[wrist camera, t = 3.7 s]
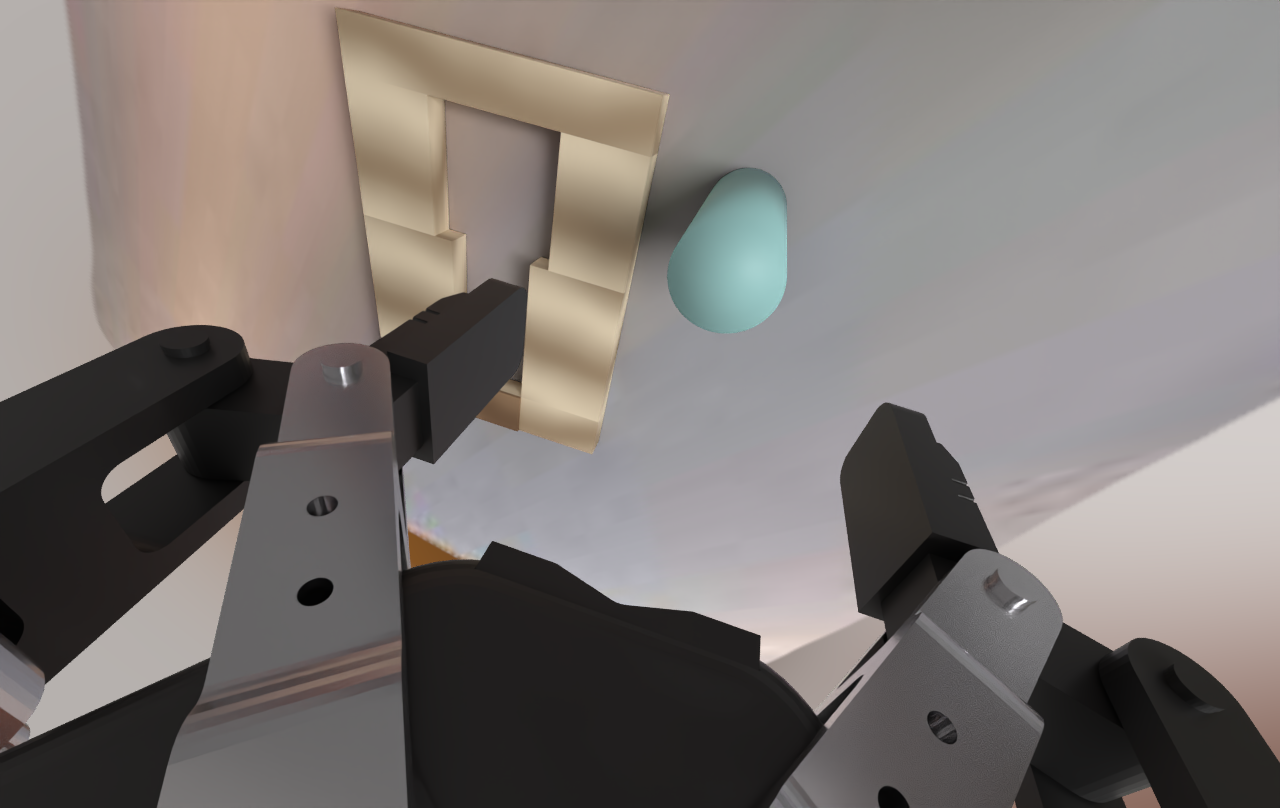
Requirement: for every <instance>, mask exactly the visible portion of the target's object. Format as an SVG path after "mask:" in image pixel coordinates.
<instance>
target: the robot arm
mask: <svg viewBox="0 0 1280 808" xmlns="http://www.w3.org/2000/svg"><path fill="white" fill-rule="evenodd" d="M526 308H527V293H526V290H525V289H524V288H522V287H519V286H515V285H512V284H509V283H506V282H503V281H499V280H496V279H493V278H491V279H488V280H487V281H486V282H484V283H483V284H481V285H480V286H478V287H477V288H476V289H474V290H473V291H471V292H470V293H465V292H462V293H458V294H455V295H451V296H448V297H444V298H441V299H439V300H438V301H436V302H435V303H433V304H432V305H430V306H429V307H427V308H426V311H421V312H420V313H418V314H417V315H415V316H414V317H413V319H412V320H411V319H409V320H408V321H406V322H405V323H403V324H402V325H400V326H399V327H397V328H396V329H394V330H393V331H391V332H390V333H388V334H387V335H385V336H384V337H382V338H381V339H379V340H378V341H376V342H374V343H373V344H371V345H370V346H367V345H362V344H354V343H339V344H331V345H325V346H321V347H318V348H315V349H312V350H310V351H308V352H306V353H304V354H303V355H301V356H300V357H298V358H297V359H296V360H295V362H294V363H291V362H281V361H272V360H262V359H253V358H249V355H248V352H247V349H246V346H245V343H244V340H243V338H242V337H241V336H240V335H239V334H238V333H236V332H234V331H233V330H230V329H227V328H223V327H218V326H209V325H191V326H181V327H174V328H169V329H165V330H161V331H158V332H155V333H152V334H149V335H147V336H145V337H142V338H140V339H138V340H136V341H134V342H131V343H129V344H127V345H125V346H123V347H120V348H118V349H116V350H114V351H112V352H109V353H107V354H105V355H103V356H101V357H98V358H96V359H94V360H92V361H90V362H87V363H85V364H83V365H81V366H79V367H76V368H74V369H72V370H70V371H68V372H65V373H63V374H61V375H59V376H57V377H54V378H52V379H50V380H48V381H46V382H43V383H41V384H39V385H37V386H34V387H32V388H30V389H28V390H26V391H23V392H21V393H19V394H17V395H15V396H12V397H10V398H8V399H6V400H4V401H2V402H0V808H1012V806H1013V803H1014V801H1015V803H1016V807H1017V808H1126V806H1125V803H1124V801H1123V799H1122V797H1123V796H1126V795H1128V794H1131V793H1134V792H1137V791H1139V790H1142V789H1145V788H1148V787H1152V789H1153V792H1154V794H1155V796H1156V798H1157V800H1158V802H1159V804H1160V806H1161V808H1280V762H1279V761H1278V759H1277V758H1276V756H1275V755H1274V753H1273V752H1272V751H1271V749H1270V748H1269V746H1268V745H1267V743H1266V742H1265V740H1264V739H1263V737H1262V736H1261V735H1260V733H1259V731H1258V730H1257V728H1256V727H1255V725H1254V724H1253V722H1252V721H1251V719H1250V718H1249V717H1248V715H1247V714H1246V712H1245V711H1244V709H1243V708H1242V707H1241V705H1240V704H1239V703H1238V701H1237V700H1236V699H1235V698H1234V697H1233V696H1232V694H1230V692H1229V691H1228V690H1227V689H1226V688H1225V687H1224V686H1223V685H1222V684H1221V683H1220V682H1219V681H1218V680H1217V679H1216V678H1214V677H1213V676H1212V675H1211V674H1210V673H1209V672H1207V671H1206V670H1205V669H1204V668H1202V667H1201V666H1200V665H1199V664H1197V663H1196V662H1195V661H1193V660H1192V659H1190V658H1189V657H1187V656H1186V655H1184V654H1182V653H1181V652H1179V651H1177V650H1176V649H1174V648H1172V647H1170V646H1168V645H1166V644H1163V643H1161V642H1159V641H1155V640H1152V639H1147V638H1136V639H1134V640H1131V641H1130V642H1128V643H1126V644H1125V645H1123V646H1121V647H1120V648H1118V649H1116V650H1115V651H1112V650H1110V649H1109V648H1107V647H1105V646H1103V645H1102V644H1100V643H1098V642H1096V641H1095V640H1093V639H1091V638H1089V637H1088V636H1086V635H1084V634H1082V633H1081V632H1079V631H1077V630H1075V629H1073V628H1072V627H1070V626H1068V625H1067V624H1065V623H1063V618H1062V614H1061V610H1060V608H1059V606H1058V604H1057V602H1056V600H1055V599H1054V598H1053V596H1052V595H1051V593H1050V592H1049V591H1048V589H1047V588H1046V587H1045V586H1044V585H1043V584H1042V583H1041V582H1040V581H1039V580H1038V579H1037V578H1036V577H1035V576H1034V575H1033V574H1031V573H1030V572H1029V571H1028V570H1027V569H1025V568H1024V567H1022V566H1021V565H1019V564H1018V563H1017V562H1015V561H1013V560H1011V559H1010V558H1008V557H1006V556H1004V555H1001V554H999V552H998V550H997V548H996V546H995V543H994V541H993V539H992V537H991V535H990V532H989V530H988V528H987V526H986V523H985V521H984V519H983V517H982V514H981V512H980V510H979V508H978V506H977V503H974V502H973V501H974V497H973V494H972V492H971V490H970V488H969V487H968V486H966V484H967V481H966V479H965V477H964V474H963V472H962V470H961V468H960V465H959V463H958V462H957V461H956V460H955V459H954V458H953V457H952V456H951V454H950V453H949V452H948V451H947V450H946V449H945V448H944V447H943V445H942V444H940V443H937V442H936V440H935V438H934V435H933V433H932V430H931V428H930V426H929V423H928V421H927V418H926V416H925V415H924V414H922V413H919V412H916V411H913V410H910V409H907V408H903V407H900V406H897V405H894V404H891V403H883V404H882V405H881V406H880V407H879V408H878V409H877V410H876V411H875V413H874V414H873V416H872V418H871V419H870V421H869V422H868V424H867V425H866V427H865V428H864V430H863V431H862V433H861V434H860V436H859V437H858V439H857V441H856V442H855V444H854V445H853V447H852V448H851V450H850V451H849V453H848V455H847V456H846V458H845V461H844V463H843V466H842V470H841V475H840V484H841V491H842V498H843V505H844V513H845V520H846V527H847V534H848V541H849V548H850V556H851V563H852V570H853V577H854V584H855V591H856V599H857V606H858V612H859V613H862V614H865V615H868V616H871V617H874V618H877V619H879V620H883V621H884V623H885V629H886V631H885V632H884V633H883V634H882V635H881V636H880V637H879V638H878V639H877V640H876V641H875V642H874V643H873V644H872V645H871V647H870V648H869V649H868V650H867V651H866V652H865V653H864V655H863V656H862V657H861V658H860V659H859V660H858V662H857V663H856V664H855V665H854V666H853V667H852V668H851V670H850V671H849V672H848V673H847V674H846V675H845V676H844V678H843V679H842V680H841V681H840V682H839V683H838V685H837V686H836V687H835V688H834V689H833V690H832V691H831V693H830V694H829V695H828V696H827V697H826V698H825V700H824V701H823V702H822V703H821V704H820V705H819V706H818V707H817V708H816V709H815V710H814V711H813V710H812V709H811V707H810V706H809V705H808V704H807V703H806V701H805V700H804V699H803V698H802V697H801V696H800V695H799V693H798V692H797V691H796V690H795V689H794V688H793V687H792V686H791V685H790V684H789V683H788V682H787V681H785V679H784V678H782V677H781V676H780V675H779V674H778V673H776V672H775V671H774V670H772V669H771V668H770V667H769V666H767V665H766V664H765V663H763V662H762V661H760V638H761V636H760V635H757V634H754V633H752V632H749V631H746V630H743V629H740V628H737V627H735V626H732V625H729V624H726V623H723V622H720V621H718V620H715V619H712V618H709V617H706V616H703V615H701V614H698V613H695V612H691V611H681V610H671V609H660V608H650V607H640V606H630V605H623V604H619V603H616V602H614V601H613V600H611V599H609V598H608V597H606V596H605V595H603V594H602V593H600V592H599V591H597V590H596V589H594V588H593V587H591V586H590V585H588V584H587V583H585V582H584V581H582V580H580V579H579V578H577V577H576V576H574V575H573V574H571V573H570V572H568V571H567V570H565V569H564V568H562V567H561V566H559V565H558V564H556V563H553V562H551V561H548V560H545V559H542V558H539V557H536V556H534V555H531V554H528V553H525V552H522V551H519V550H517V549H514V548H511V547H508V546H505V545H502V544H500V543H497V542H494V541H492V542H491V544H490V545H489V547H488V548H487V550H486V552H485V553H484V555H483V556H482V558H481V560H449V561H440V562H433V563H429V564H425V565H421V566H417V567H413V568H411V566H410V556H409V544H408V529H407V515H406V501H405V487H404V474H403V466H404V465H405V464H406V463H407V462H408V461H409V460H410V459H411V458H412V457H414V458H417V459H420V460H423V461H426V462H429V463H432V464H435V462H436V461H437V460H438V459H439V458H440V457H441V456H442V455H443V453H444V452H445V451H446V450H447V449H448V448H449V447H450V446H451V444H452V443H453V442H454V441H455V440H456V439H457V438H458V437H459V435H460V434H461V433H462V432H463V431H464V430H465V429H466V428H467V426H468V425H469V424H470V423H471V422H472V421H473V420H474V419H475V417H476V416H477V415H478V414H479V413H480V412H481V411H482V410H483V409H484V407H485V406H486V405H487V404H488V403H489V402H490V401H491V400H492V398H493V397H494V396H495V395H496V394H497V393H498V392H499V391H500V389H501V388H502V387H503V386H504V385H505V384H506V383H507V382H508V380H509V379H510V378H511V377H512V376H513V375H514V373H515V372H516V370H517V368H518V366H519V364H520V361H521V358H522V354H523V348H524V335H525V322H526ZM165 434H167V435H168V437H169V439H170V441H171V443H172V445H173V447H174V449H175V451H176V453H177V455H175V456H174V457H172V458H171V459H170V460H168V461H167V462H165V463H164V464H162V465H161V466H159V467H158V468H156V469H155V470H153V471H152V472H151V473H149V474H148V475H146V476H145V477H143V478H142V479H140V480H139V481H137V482H136V483H135V484H133V485H132V486H130V487H129V488H127V489H126V490H124V491H123V492H121V493H120V494H119V495H117V496H116V497H114V498H113V499H111V500H110V501H108V502H107V503H104V501H103V499H102V496H101V488H102V485H103V482H104V480H105V478H106V477H107V475H108V474H109V473H110V472H111V470H113V469H114V468H115V467H116V466H117V465H119V464H120V463H121V462H123V461H125V460H126V459H128V458H129V457H131V456H132V455H134V454H135V453H137V452H139V451H140V450H141V449H143V448H145V447H146V446H148V445H149V444H151V443H153V442H154V441H156V440H157V439H159V438H160V437H162V436H164V435H165ZM243 509H244V511H243V515H242V520H241V524H240V529H239V533H238V538H237V542H236V546H235V551H234V555H233V560H232V564H231V569H230V573H229V577H228V582H227V587H226V591H225V595H224V600H223V605H222V609H221V613H220V618H219V622H218V626H217V631H216V636H215V640H214V644H213V649H212V653H211V657H210V658H208V659H206V660H204V661H202V662H199V663H197V664H195V665H193V666H191V667H188V668H186V669H184V670H182V671H180V672H177V673H175V674H173V675H171V676H169V677H167V678H164V679H162V680H160V681H158V682H155V683H153V684H151V685H149V686H147V687H144V688H142V689H140V690H138V691H135V692H133V693H131V694H129V695H127V696H124V697H122V698H120V699H118V700H116V701H113V702H111V703H109V704H107V705H105V706H102V707H100V708H98V709H96V710H94V711H91V712H89V713H87V714H85V715H83V716H80V717H78V718H76V719H74V720H72V721H69V722H67V723H65V724H63V725H61V726H58V727H56V728H54V729H52V730H50V731H47V732H46V733H43V734H41V735H39V736H36V737H34V738H32V739H30V740H28V739H29V736H30V728H29V726H28V725H27V724H26V722H27V720H28V719H29V718H30V716H31V715H32V714H33V712H34V711H35V709H36V707H37V705H38V704H39V702H40V699H41V697H42V694H43V691H44V686H45V684H46V683H47V682H48V681H50V680H51V679H52V678H53V677H54V676H55V675H56V674H58V673H59V672H60V671H61V670H62V669H63V668H64V667H65V666H67V665H68V664H69V663H70V662H71V661H72V660H73V659H75V658H76V657H77V656H78V655H79V654H80V653H81V652H82V651H84V650H85V649H86V648H87V647H88V646H89V645H90V644H91V643H93V642H94V641H95V640H96V639H97V638H98V637H99V636H100V635H102V634H103V633H104V632H105V631H106V630H107V629H108V628H110V627H111V626H112V625H113V624H114V623H115V622H116V621H117V620H119V619H120V618H121V617H122V616H123V615H124V614H125V613H126V612H128V611H129V610H130V609H131V608H132V607H133V606H134V605H135V604H137V603H138V602H139V601H140V600H141V599H142V598H143V597H144V596H146V595H147V594H148V593H149V592H150V591H151V590H152V589H153V588H155V587H156V586H157V585H158V584H159V583H160V582H161V581H163V580H164V579H165V578H166V577H167V576H168V575H169V574H170V573H172V572H173V571H174V570H175V569H176V568H177V567H178V566H180V565H181V564H182V563H183V562H184V561H185V560H186V559H187V558H188V557H190V556H191V555H192V554H193V553H194V552H195V551H197V550H198V549H199V548H200V547H201V546H202V545H203V544H204V543H206V541H208V540H209V539H210V538H211V537H212V536H213V535H215V534H216V533H217V532H218V531H219V530H220V529H221V528H222V527H224V526H225V525H226V524H227V523H228V522H229V521H230V520H232V519H233V518H234V517H235V516H236V515H237V514H238V513H239V512H241V511H242V510H243Z"/></svg>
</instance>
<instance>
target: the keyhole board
mask: <svg viewBox="0 0 1280 808" xmlns="http://www.w3.org/2000/svg"><path fill="white" fill-rule="evenodd" d="M335 12H336V19H337V26H338V34H339V41H340V48H341V55H342V62H343V69H344V77H345V84H346V91H347V98H348V105H349V112H350V120H351V127H352V134H353V141H354V148H355V155H356V162H357V170H358V177H359V184H360V191H361V198H362V205H363V213H364V220H365V227H366V234H367V241H368V248H369V256H370V263H371V270H372V277H373V284H374V291H375V299H376V306H377V313H378V320H379V327H380V334H381V338H382V337H384V336H385V335H387V334H388V333H390V332H391V331H393V330H394V329H396V328H397V327H399V326H400V325H402V324H403V323H405V322H406V321H408V320H409V319H411V320H412V319H413V317H414V316H415V315H417V314H418V313H420V312H421V311H426V308H427V307H429V306H430V305H432V304H433V303H435V302H436V301H438V300H439V299H441V298H444V297H448V296H451V295H455V294H458V293H462V292H465V293H467V266H466V234H463V233H460V232H457V231H453V230H450V229H449V211H448V183H447V155H446V127H445V100H448V101H451V102H455V103H458V104H462V105H465V106H469V107H473V108H476V109H480V110H483V111H487V112H491V113H494V114H498V115H501V116H505V117H508V118H512V119H516V120H519V121H523V122H526V123H530V124H533V125H537V126H541V127H544V128H548V129H551V130H555V131H559V132H561V139H560V150H559V160H558V171H557V182H556V193H555V203H554V214H553V225H552V236H551V247H550V257H549V259H546V258H543V257H540V258H539V259H538V260H536V261H535V262H534V263H532V264H531V265H530V274H529V288H528V303H527V318H526V332H525V347H524V361H523V376H522V383H521V382H518V381H514V380H511V379H509V380H508V382H507V383H506V384H505V385H504V386H503V387H502V388H501V389H500V391H499V392H498V393H497V394H496V395H495V396H494V397H493V398H492V400H491V401H490V402H489V403H488V404H487V405H486V406H485V407H484V409H483V410H482V411H481V412H480V413H479V414H478V415H477V416H476V418H479V419H482V420H485V421H488V422H491V423H494V424H497V425H500V426H503V427H506V428H509V429H512V430H515V431H518V430H521V431H524V432H527V433H530V434H533V435H536V436H539V437H542V438H545V439H548V440H551V441H554V442H557V443H560V444H563V445H566V446H569V447H572V448H575V449H578V450H581V451H584V452H587V453H590V454H592V453H593V451H594V449H595V447H596V445H597V443H598V441H599V437H600V432H601V427H602V422H603V417H604V412H605V408H606V403H607V398H608V393H609V388H610V383H611V378H612V373H613V369H614V364H615V359H616V354H617V349H618V344H619V339H620V334H621V329H622V325H623V320H624V315H625V310H626V305H627V300H628V295H629V290H630V286H631V281H632V276H633V271H634V266H635V261H636V256H637V251H638V247H639V242H640V237H641V232H642V227H643V222H644V217H645V212H646V208H647V203H648V198H649V193H650V188H651V183H652V178H653V173H654V169H655V164H656V159H657V154H658V149H659V144H660V139H661V134H662V130H663V125H664V120H665V115H666V110H667V105H668V100H669V95H670V94H667V93H663V92H659V91H655V90H652V89H648V88H644V87H641V86H637V85H633V84H629V83H626V82H622V81H618V80H614V79H611V78H607V77H603V76H599V75H596V74H592V73H588V72H585V71H581V70H577V69H573V68H570V67H566V66H562V65H558V64H555V63H551V62H547V61H543V60H540V59H536V58H532V57H529V56H525V55H521V54H517V53H514V52H510V51H506V50H502V49H499V48H495V47H491V46H487V45H484V44H480V43H476V42H473V41H469V40H465V39H461V38H458V37H454V36H450V35H446V34H443V33H439V32H435V31H431V30H428V29H424V28H420V27H416V26H413V25H409V24H405V23H402V22H398V21H394V20H390V19H387V18H383V17H379V16H375V15H372V14H368V13H364V12H360V11H356V10H349V9H342V8H335Z"/></svg>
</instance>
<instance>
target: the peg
mask: <svg viewBox="0 0 1280 808" xmlns="http://www.w3.org/2000/svg"><path fill="white" fill-rule="evenodd" d="M667 279H668V287H669V292H670V295H671V297H672V300H673V302H674V304H675V305H676V307H677V308H678V310H679V311H680V312H681V313H682V315H683V316H684V317H685V318H687V319H688V320H689V321H690V322H692V323H693V324H695V325H696V326H698V327H700V328H702V329H705V330H708V331H711V332H716V333H737V332H741V331H745V330H748V329H750V328H753V327H755V326H756V325H758V324H760V323H761V322H763V321H764V320H765V319H766V318H768V317H769V316H770V315H771V314H772V313H773V311H774V310H775V309H776V307H777V306H778V304H779V303H780V301H781V299H782V297H783V294H784V291H785V287H786V281H787V203H786V197H785V193H784V191H783V189H782V187H781V185H780V184H779V182H778V181H777V180H776V179H775V178H774V177H773V176H772V175H770V174H769V173H767V172H765V171H763V170H760V169H756V168H742V169H738V170H735V171H732V172H730V173H728V174H727V175H725V176H724V177H723V178H721V179H720V180H719V181H718V182H717V184H716V185H715V186H714V188H713V189H712V191H711V192H710V194H709V195H708V197H707V198H706V200H705V202H704V203H703V205H702V206H701V208H700V210H699V211H698V213H697V214H696V216H695V217H694V219H693V221H692V222H691V224H690V225H689V227H688V228H687V230H686V232H685V233H684V235H683V236H682V238H681V239H680V241H679V243H678V244H677V246H676V247H675V249H674V251H673V253H672V255H671V258H670V261H669V266H668V274H667Z"/></svg>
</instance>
